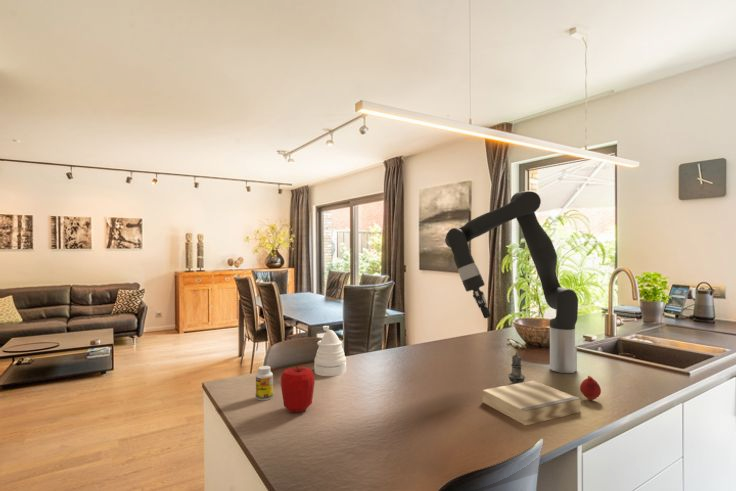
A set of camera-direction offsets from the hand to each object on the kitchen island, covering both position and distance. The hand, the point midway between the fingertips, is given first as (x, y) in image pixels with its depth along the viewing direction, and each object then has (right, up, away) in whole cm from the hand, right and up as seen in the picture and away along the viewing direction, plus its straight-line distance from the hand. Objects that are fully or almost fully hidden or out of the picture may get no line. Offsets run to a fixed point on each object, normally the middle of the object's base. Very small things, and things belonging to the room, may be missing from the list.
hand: (487, 317), depth 149 cm
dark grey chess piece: (+8, -24, -7) cm, 26 cm away
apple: (-67, -24, -26) cm, 76 cm away
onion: (+27, -24, -20) cm, 41 cm away
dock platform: (+6, -24, -25) cm, 35 cm away
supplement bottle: (-80, -24, -17) cm, 85 cm away
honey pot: (-61, -24, +11) cm, 66 cm away
